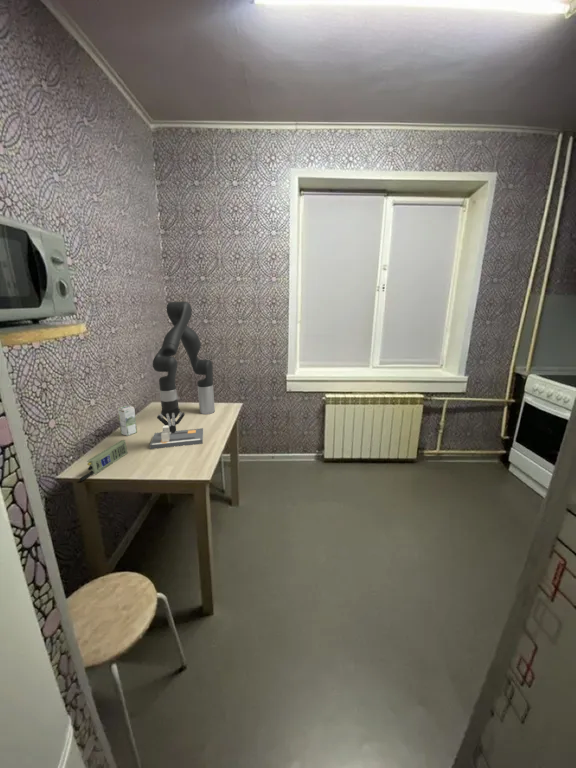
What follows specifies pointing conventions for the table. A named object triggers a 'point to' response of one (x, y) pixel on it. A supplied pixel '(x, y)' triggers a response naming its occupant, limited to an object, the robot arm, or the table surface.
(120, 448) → the handheld radio
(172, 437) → the switch panel
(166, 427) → the inner switch
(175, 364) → the robot arm
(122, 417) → the syrup box
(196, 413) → the table surface
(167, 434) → the outer switch
